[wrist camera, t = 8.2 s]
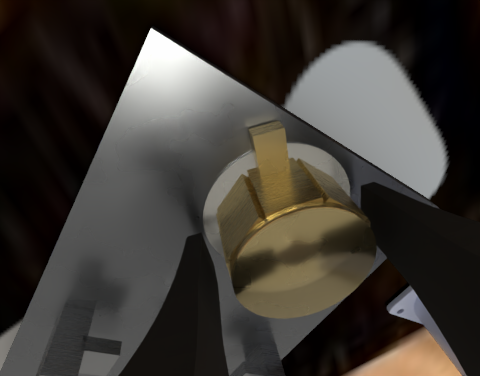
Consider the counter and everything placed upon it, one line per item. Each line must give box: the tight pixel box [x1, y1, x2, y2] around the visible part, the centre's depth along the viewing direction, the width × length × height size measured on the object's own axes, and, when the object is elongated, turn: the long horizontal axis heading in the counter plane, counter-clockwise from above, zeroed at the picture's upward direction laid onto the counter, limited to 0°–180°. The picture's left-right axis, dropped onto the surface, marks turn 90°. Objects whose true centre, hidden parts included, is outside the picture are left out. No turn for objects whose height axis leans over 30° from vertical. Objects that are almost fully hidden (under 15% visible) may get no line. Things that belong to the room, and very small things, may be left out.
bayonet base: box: [0, 26, 439, 376], centre depth 16 cm, size 16×22×4 cm
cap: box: [216, 121, 377, 319], centre depth 13 cm, size 9×6×4 cm, turn 12°
